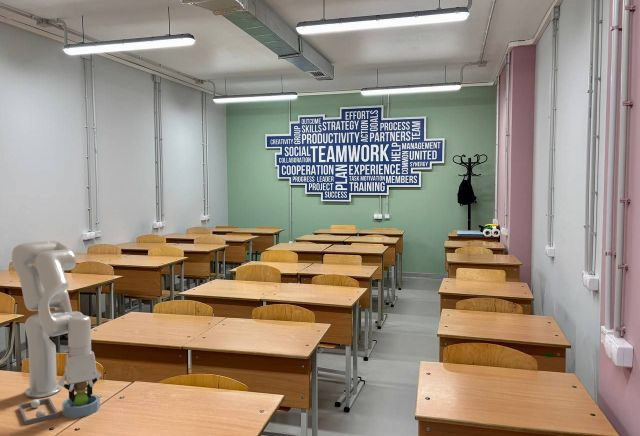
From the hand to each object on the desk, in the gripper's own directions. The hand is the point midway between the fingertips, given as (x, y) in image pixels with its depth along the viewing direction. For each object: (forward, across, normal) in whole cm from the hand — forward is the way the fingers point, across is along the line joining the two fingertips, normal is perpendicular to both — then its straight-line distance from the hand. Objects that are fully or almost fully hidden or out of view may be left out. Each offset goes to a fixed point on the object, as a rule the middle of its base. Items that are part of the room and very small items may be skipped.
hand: (80, 398), depth 186 cm
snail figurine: (+3, -1, 0) cm, 3 cm away
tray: (+5, -13, +7) cm, 15 cm away
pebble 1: (+5, -13, +12) cm, 18 cm away
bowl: (+5, 0, 0) cm, 5 cm away
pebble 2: (+5, -13, +1) cm, 14 cm away
